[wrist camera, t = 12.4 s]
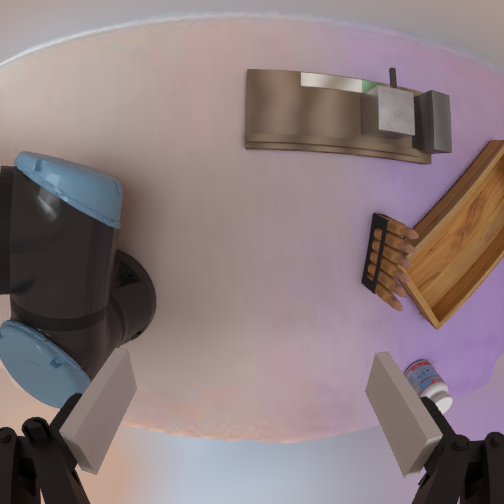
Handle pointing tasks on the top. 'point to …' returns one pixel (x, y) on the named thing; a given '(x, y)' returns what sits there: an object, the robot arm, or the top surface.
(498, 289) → the top surface
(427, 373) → the pill bottle
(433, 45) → the top surface
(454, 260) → the tray
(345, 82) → the brown tray with block
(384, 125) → the cube with dark rod
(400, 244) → the ammunition clip
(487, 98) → the top surface
